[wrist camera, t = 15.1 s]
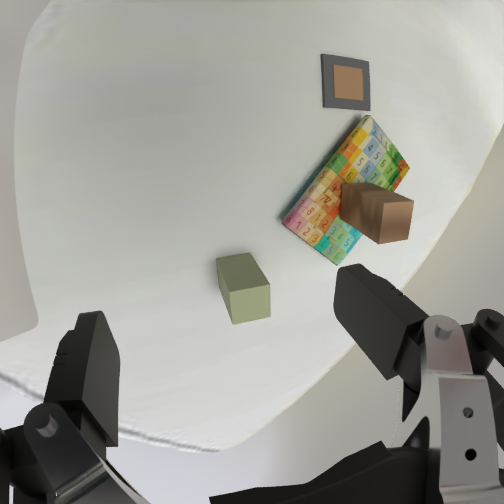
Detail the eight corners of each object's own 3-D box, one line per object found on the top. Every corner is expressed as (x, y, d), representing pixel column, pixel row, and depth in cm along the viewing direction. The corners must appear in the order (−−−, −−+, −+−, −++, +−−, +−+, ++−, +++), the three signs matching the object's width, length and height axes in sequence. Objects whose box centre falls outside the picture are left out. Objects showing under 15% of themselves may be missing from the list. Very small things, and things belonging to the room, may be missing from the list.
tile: (320, 54, 33) (323, 53, 33) (366, 61, 35) (369, 61, 35) (322, 107, 37) (325, 107, 36) (368, 110, 39) (371, 110, 38)
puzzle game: (287, 228, 39) (374, 115, 35) (274, 217, 43) (355, 114, 39) (339, 268, 44) (413, 169, 40) (325, 255, 48) (395, 163, 44)
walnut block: (342, 183, 38) (384, 203, 30) (370, 182, 39) (413, 200, 31) (339, 218, 40) (378, 244, 32) (367, 215, 41) (407, 239, 34)
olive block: (216, 258, 42) (229, 292, 35) (249, 252, 44) (270, 284, 36) (219, 287, 45) (232, 324, 37) (251, 282, 46) (270, 316, 38)
